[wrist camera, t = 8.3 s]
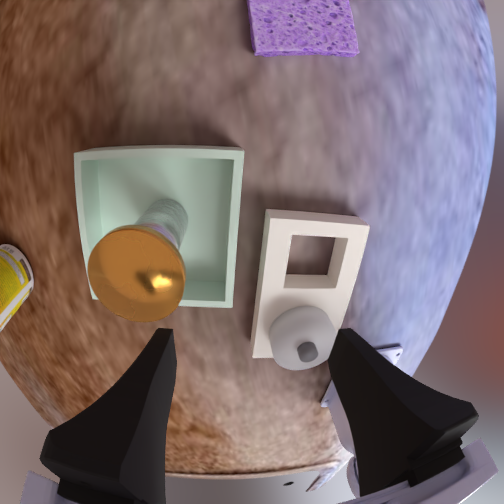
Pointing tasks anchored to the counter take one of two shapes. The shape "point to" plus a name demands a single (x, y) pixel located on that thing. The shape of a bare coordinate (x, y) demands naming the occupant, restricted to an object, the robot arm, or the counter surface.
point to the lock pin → (142, 264)
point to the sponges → (302, 27)
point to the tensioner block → (304, 288)
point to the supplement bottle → (13, 281)
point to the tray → (168, 187)
